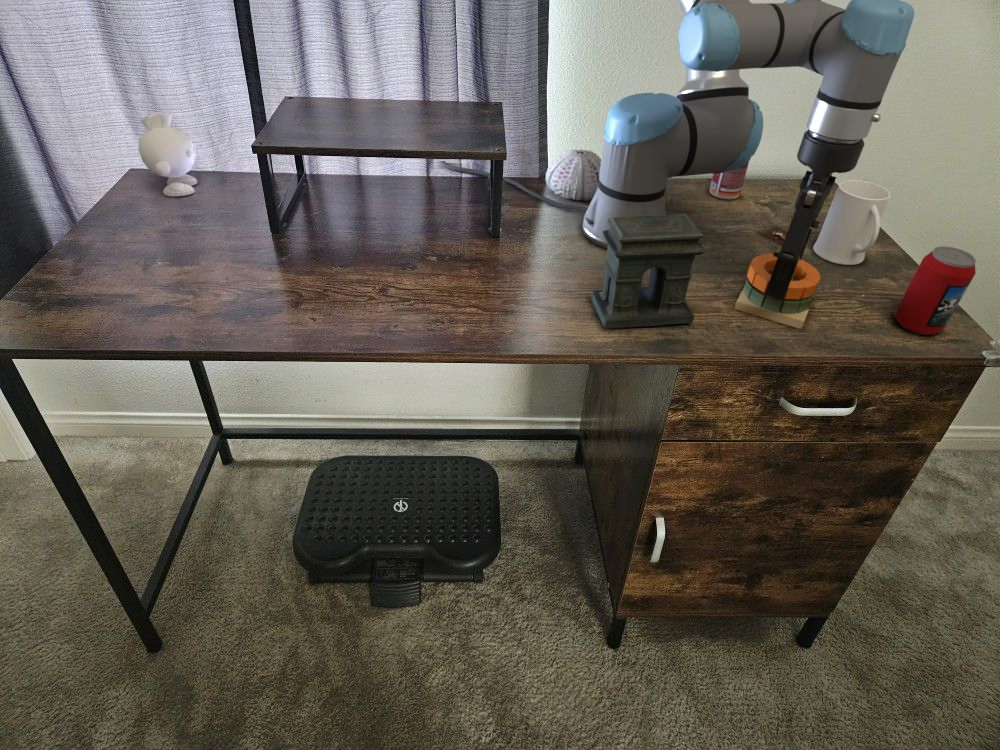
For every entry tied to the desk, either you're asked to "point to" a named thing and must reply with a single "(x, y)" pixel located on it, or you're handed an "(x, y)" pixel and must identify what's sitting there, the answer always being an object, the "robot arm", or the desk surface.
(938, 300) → the beverage can
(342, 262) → the desk surface
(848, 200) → the mug
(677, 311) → the model
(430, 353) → the desk surface
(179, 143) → the white cartoon figurine
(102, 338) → the desk surface
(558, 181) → the sea urchin shell
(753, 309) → the stacker
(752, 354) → the desk surface
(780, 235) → the diorama
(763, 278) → the orange ring
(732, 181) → the pill bottle
